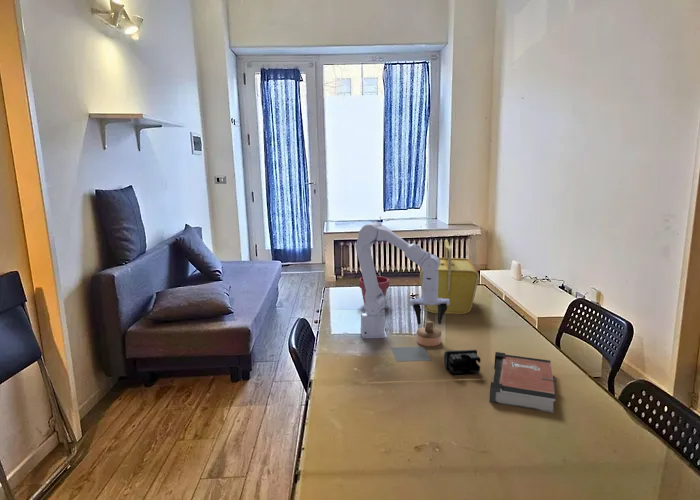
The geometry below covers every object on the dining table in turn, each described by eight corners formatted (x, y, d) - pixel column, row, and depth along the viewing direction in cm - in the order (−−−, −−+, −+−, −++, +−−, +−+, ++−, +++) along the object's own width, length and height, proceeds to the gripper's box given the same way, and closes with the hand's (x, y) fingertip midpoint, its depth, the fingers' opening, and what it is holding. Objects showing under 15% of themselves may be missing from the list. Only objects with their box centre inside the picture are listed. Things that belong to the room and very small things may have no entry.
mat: (396, 362, 154) (396, 361, 154) (391, 348, 166) (391, 347, 166) (431, 361, 155) (431, 360, 155) (423, 347, 167) (423, 346, 167)
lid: (418, 338, 167) (418, 326, 166) (415, 329, 175) (415, 318, 175) (443, 338, 166) (443, 326, 166) (438, 329, 175) (439, 318, 174)
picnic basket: (418, 296, 233) (419, 238, 228) (469, 297, 230) (472, 239, 224) (418, 314, 205) (420, 248, 199) (477, 316, 201) (481, 249, 196)
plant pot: (389, 309, 211) (390, 282, 209) (359, 309, 211) (359, 282, 209) (387, 300, 225) (388, 275, 223) (359, 300, 225) (359, 275, 223)
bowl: (419, 347, 167) (419, 338, 167) (414, 338, 176) (414, 329, 175) (443, 346, 168) (443, 337, 167) (437, 337, 177) (437, 328, 176)
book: (557, 415, 122) (558, 397, 121) (489, 403, 128) (490, 387, 128) (551, 374, 147) (552, 359, 146) (494, 366, 153) (495, 351, 152)
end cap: (472, 365, 152) (473, 346, 150) (481, 375, 145) (482, 355, 144) (443, 367, 151) (444, 348, 149) (450, 377, 144) (451, 357, 142)
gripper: (412, 291, 164) (411, 327, 166) (452, 290, 165) (451, 326, 167) (409, 286, 171) (408, 321, 173) (447, 285, 172) (445, 320, 174)
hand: (428, 323), depth 171 cm, fingers open, 7 cm apart
